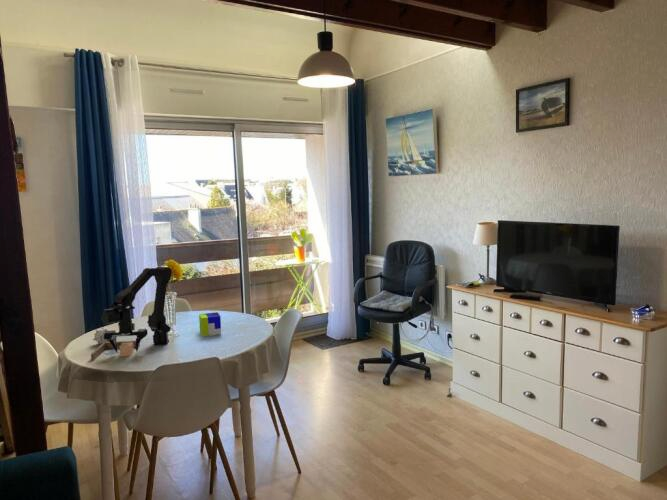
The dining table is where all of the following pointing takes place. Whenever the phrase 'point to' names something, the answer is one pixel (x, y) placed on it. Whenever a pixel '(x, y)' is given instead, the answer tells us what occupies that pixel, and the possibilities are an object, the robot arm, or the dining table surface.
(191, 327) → the dining table surface
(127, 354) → the cube
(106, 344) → the arena
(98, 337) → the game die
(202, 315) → the puzzle toy
